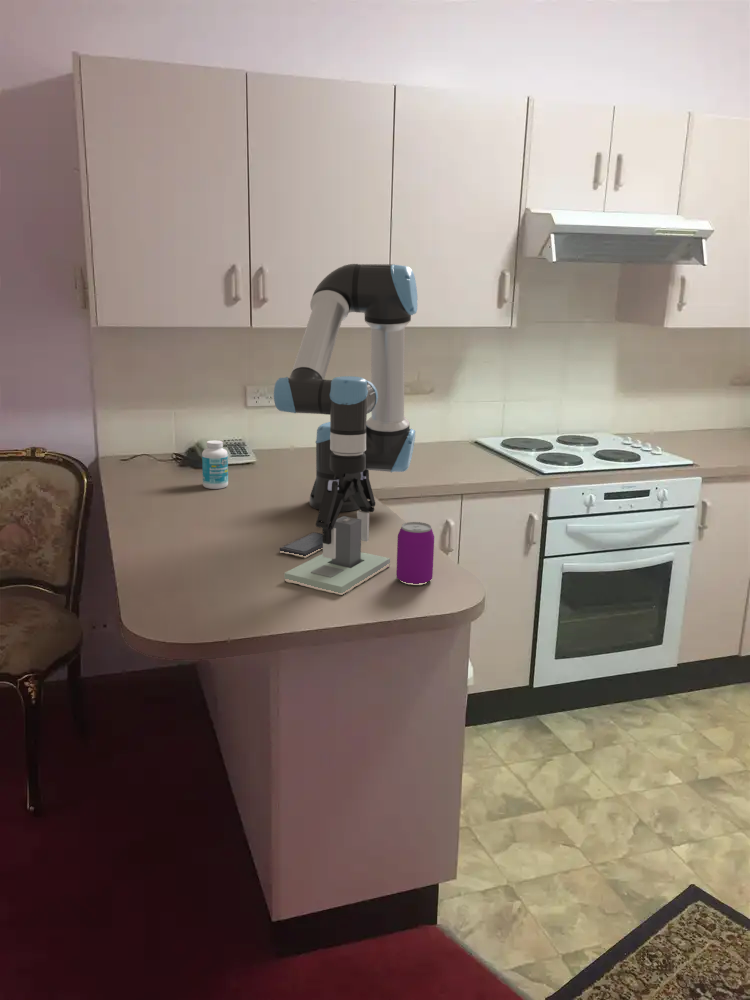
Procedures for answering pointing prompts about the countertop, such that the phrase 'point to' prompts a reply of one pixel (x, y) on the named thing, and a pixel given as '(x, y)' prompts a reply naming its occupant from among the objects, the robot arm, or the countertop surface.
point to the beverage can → (415, 553)
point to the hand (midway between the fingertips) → (346, 548)
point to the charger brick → (348, 542)
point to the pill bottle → (215, 465)
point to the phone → (305, 544)
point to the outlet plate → (335, 572)
